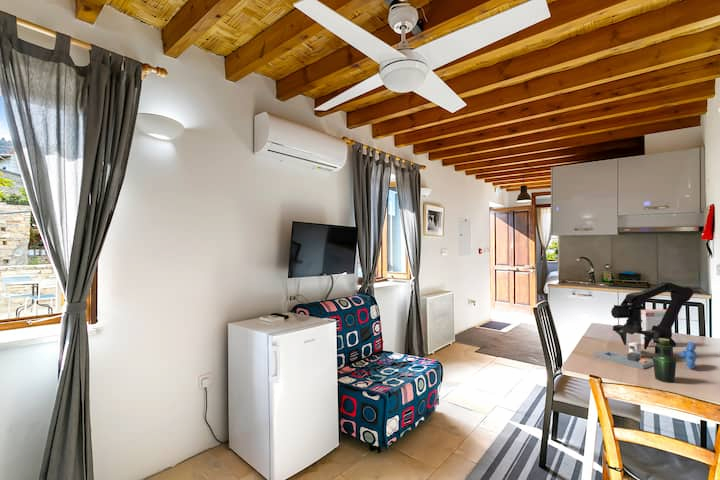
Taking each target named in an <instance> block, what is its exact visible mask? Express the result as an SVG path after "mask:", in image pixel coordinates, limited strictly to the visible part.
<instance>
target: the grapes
mask: <svg viewBox="0 0 720 480" xmlns="http://www.w3.org/2000/svg"><path fill="white" fill-rule="evenodd" d="M696 348H697V347H696V345H695V344H694V343H693V342H688V343H687V344H686V347H685V350H682V351H680V352H679V353H678V355H679V356H680V357H681V358H684V359H685V362H686V364H685V365H686V366H687V368H688V369H690V370H692V369H694V368H696V367H697V364H696V361H697V358H698V357H699V356H698V354H697V353H696V351H695V350H696Z"/></svg>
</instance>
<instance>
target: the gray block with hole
mask: <svg viewBox="0 0 720 480" xmlns="http://www.w3.org/2000/svg"><path fill="white" fill-rule="evenodd" d="M593 354H594V356H595V358H597V359H602V360H606V361H610V362H613V363H616V364H617V363H618V364H622V365H624V366H629V367H632V368H633V367H634V368H637V369H639V370H640V369H641V370H645V369H648V368H649V367H654V364H653V360H650V359H649V360H648V359H645V358H641V357H640V354H638V353H634V352H631V353H629V352H628V353H627V354H623V353H620V352H617V351H616V352H615V351H610V350H606V349H603V350H599V351H597V352H594V353H593Z"/></svg>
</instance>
